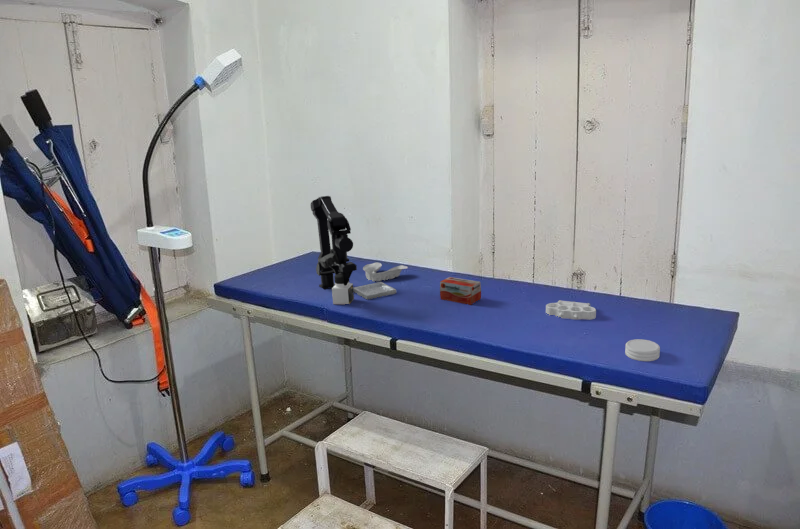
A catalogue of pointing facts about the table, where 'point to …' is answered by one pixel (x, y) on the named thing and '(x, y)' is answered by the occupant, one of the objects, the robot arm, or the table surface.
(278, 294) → the table surface
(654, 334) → the table surface
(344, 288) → the medicine bottle
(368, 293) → the tray
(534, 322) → the table surface
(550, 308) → the grey holed plate
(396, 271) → the dental model
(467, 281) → the medicine box
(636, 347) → the white round container
